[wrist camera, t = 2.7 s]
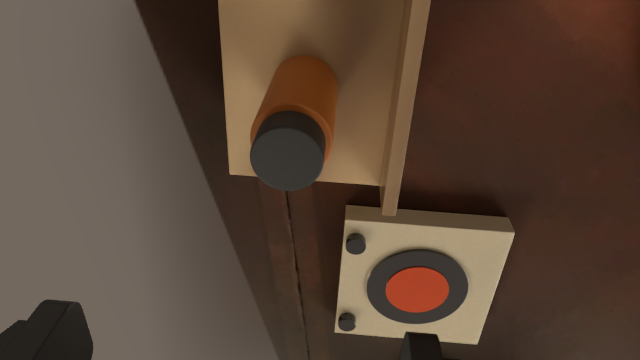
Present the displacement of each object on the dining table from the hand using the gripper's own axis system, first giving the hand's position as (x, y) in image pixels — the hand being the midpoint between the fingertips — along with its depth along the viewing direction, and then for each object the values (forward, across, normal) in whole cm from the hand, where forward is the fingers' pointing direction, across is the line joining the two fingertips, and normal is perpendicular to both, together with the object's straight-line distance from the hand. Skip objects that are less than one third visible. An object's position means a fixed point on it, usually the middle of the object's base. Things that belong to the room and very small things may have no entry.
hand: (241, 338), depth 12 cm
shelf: (+24, 0, 0) cm, 24 cm away
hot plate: (+24, -10, +19) cm, 32 cm away
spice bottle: (+17, 0, 0) cm, 17 cm away
